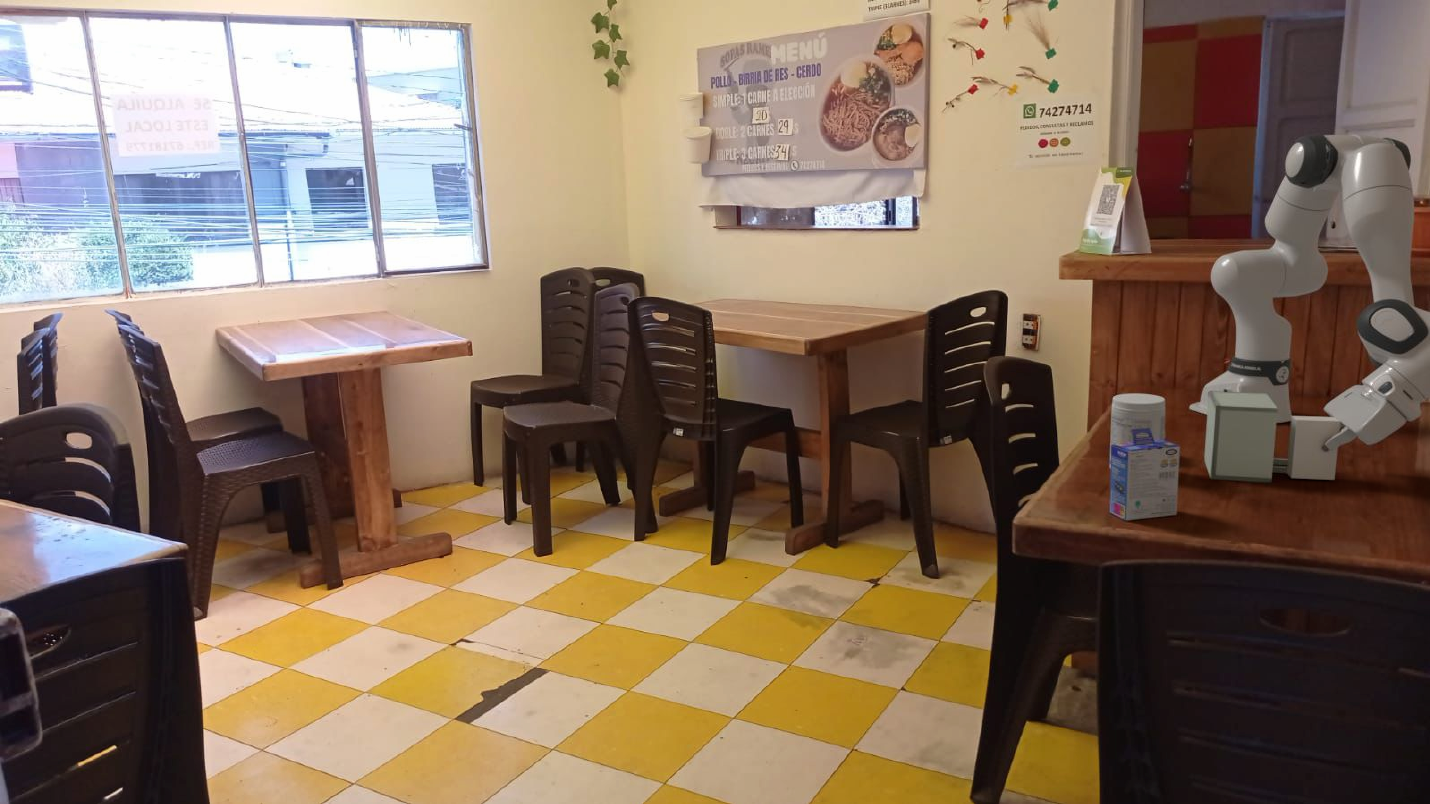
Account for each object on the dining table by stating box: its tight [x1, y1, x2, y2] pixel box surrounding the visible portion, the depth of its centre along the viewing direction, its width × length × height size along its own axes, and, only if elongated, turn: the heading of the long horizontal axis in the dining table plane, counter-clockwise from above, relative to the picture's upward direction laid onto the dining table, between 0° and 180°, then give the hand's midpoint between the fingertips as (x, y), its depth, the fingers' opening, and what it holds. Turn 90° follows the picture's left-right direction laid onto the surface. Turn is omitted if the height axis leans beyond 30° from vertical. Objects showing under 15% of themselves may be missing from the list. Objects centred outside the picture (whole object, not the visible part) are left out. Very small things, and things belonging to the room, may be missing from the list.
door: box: [1286, 415, 1341, 481], centre depth 181 cm, size 7×4×11 cm, turn 74°
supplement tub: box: [1109, 392, 1166, 470], centre depth 189 cm, size 10×10×15 cm
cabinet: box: [1203, 391, 1288, 484], centre depth 186 cm, size 18×15×14 cm
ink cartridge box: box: [1109, 428, 1181, 521], centre depth 165 cm, size 10×6×14 cm, turn 102°
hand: (1322, 443), depth 180 cm, fingers closed on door, 4 cm apart
